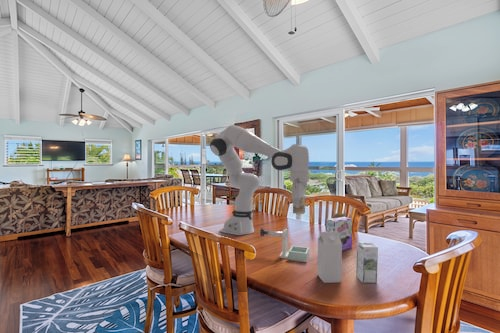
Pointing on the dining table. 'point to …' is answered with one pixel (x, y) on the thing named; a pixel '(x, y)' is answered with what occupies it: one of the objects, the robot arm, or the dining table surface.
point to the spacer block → (301, 209)
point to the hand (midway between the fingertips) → (298, 206)
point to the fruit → (338, 215)
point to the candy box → (341, 230)
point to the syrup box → (367, 262)
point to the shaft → (270, 233)
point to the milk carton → (329, 257)
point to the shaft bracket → (293, 250)
